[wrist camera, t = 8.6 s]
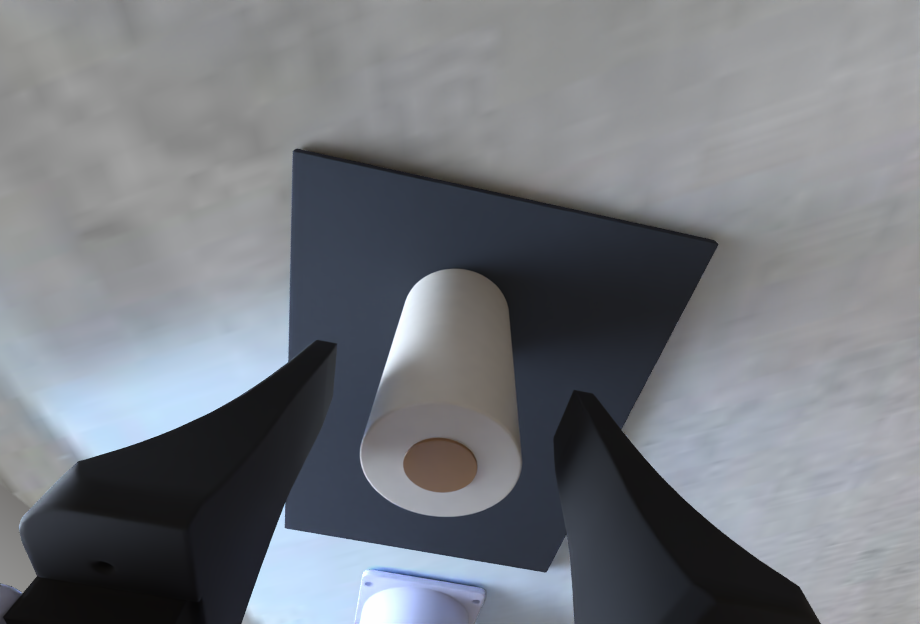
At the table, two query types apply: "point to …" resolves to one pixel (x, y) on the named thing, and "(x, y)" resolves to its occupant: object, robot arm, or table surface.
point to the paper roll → (446, 401)
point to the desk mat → (531, 324)
